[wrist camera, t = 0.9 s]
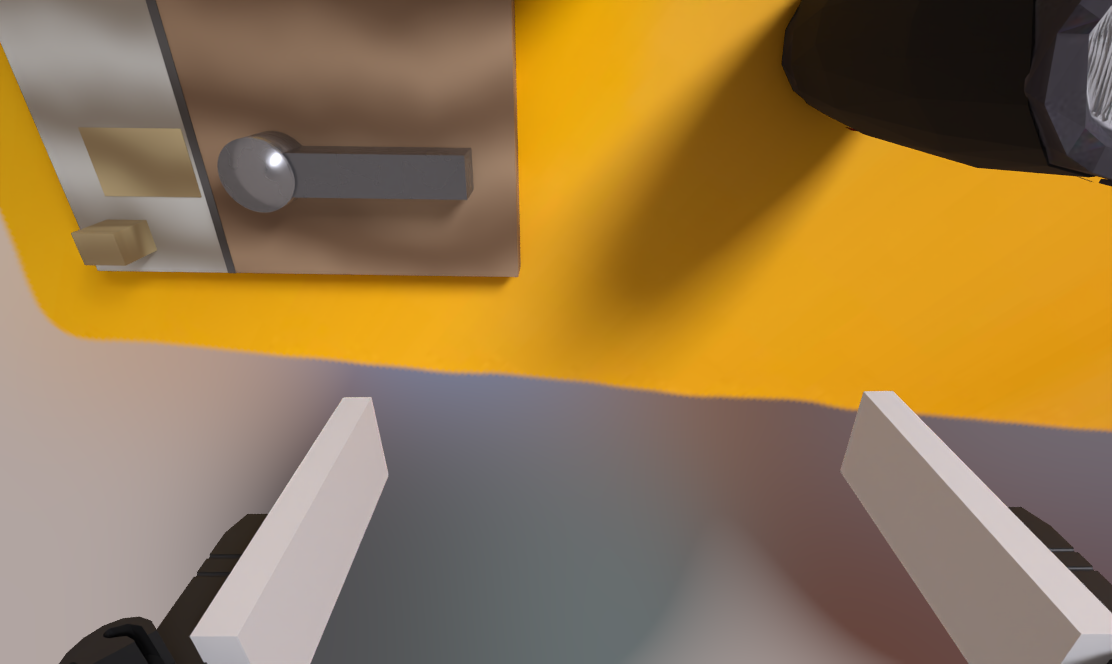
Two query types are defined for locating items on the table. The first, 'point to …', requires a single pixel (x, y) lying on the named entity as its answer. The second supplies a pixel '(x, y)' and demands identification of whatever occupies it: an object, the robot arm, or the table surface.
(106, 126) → the board
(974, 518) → the robot arm
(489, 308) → the table surface
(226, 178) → the door lever handle
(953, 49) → the portable speaker
